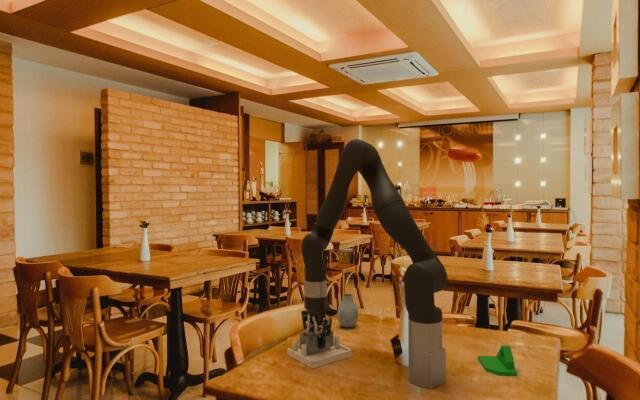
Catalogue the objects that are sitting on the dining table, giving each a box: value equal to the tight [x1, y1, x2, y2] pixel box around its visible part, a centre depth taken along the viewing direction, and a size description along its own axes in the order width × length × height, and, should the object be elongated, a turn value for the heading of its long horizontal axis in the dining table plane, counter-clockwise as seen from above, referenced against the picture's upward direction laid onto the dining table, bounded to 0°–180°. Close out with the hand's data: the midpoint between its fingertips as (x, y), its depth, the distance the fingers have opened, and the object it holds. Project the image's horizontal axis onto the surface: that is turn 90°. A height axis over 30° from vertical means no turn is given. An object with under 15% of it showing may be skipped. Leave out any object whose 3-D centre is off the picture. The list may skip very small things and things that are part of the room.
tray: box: [286, 335, 354, 369], centre depth 144 cm, size 14×16×5 cm
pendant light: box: [336, 248, 359, 328], centre depth 173 cm, size 8×8×30 cm
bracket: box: [477, 344, 518, 377], centre depth 133 cm, size 12×8×7 cm, turn 175°
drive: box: [298, 329, 335, 353], centre depth 146 cm, size 5×10×5 cm, turn 127°
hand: (316, 345), depth 146 cm, fingers open, 5 cm apart
